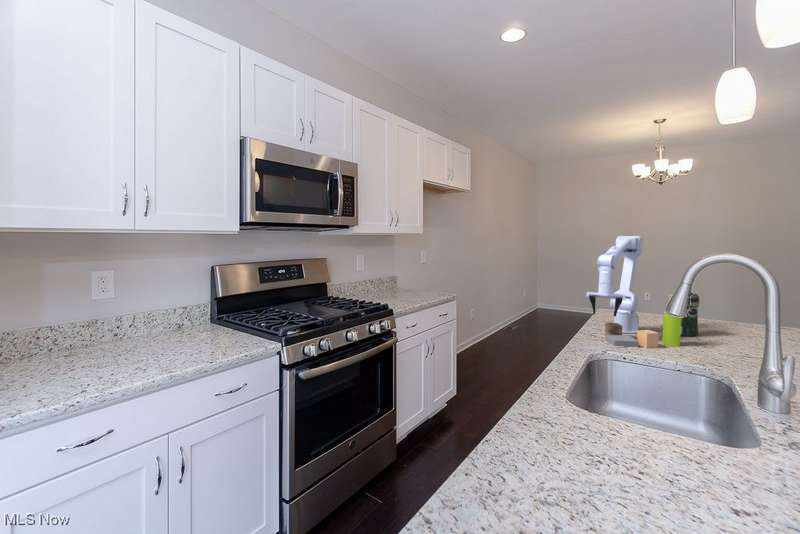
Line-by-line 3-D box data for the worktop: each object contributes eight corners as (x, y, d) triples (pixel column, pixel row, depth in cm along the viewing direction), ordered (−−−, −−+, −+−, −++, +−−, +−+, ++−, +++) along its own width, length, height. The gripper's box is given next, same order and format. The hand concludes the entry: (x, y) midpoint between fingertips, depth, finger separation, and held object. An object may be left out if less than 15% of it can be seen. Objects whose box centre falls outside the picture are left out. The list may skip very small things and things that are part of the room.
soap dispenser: (681, 343, 156) (683, 295, 155) (678, 347, 151) (681, 297, 150) (663, 340, 160) (666, 293, 159) (660, 344, 155) (663, 295, 154)
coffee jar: (685, 331, 175) (687, 291, 173) (701, 336, 167) (704, 294, 166) (666, 332, 173) (668, 292, 172) (682, 337, 165) (684, 294, 164)
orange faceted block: (648, 344, 156) (648, 329, 156) (657, 347, 151) (658, 332, 151) (636, 344, 155) (637, 330, 155) (646, 348, 150) (647, 333, 150)
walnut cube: (616, 336, 168) (617, 322, 168) (621, 339, 163) (622, 325, 163) (604, 336, 169) (605, 322, 168) (609, 339, 164) (610, 325, 163)
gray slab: (627, 342, 160) (627, 335, 160) (638, 348, 151) (638, 341, 151) (605, 341, 161) (605, 334, 161) (614, 348, 152) (614, 340, 152)
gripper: (587, 282, 161) (585, 314, 162) (627, 285, 155) (625, 318, 155) (587, 281, 167) (585, 312, 168) (625, 283, 161) (623, 315, 161)
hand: (604, 315), depth 162 cm, fingers open, 7 cm apart
